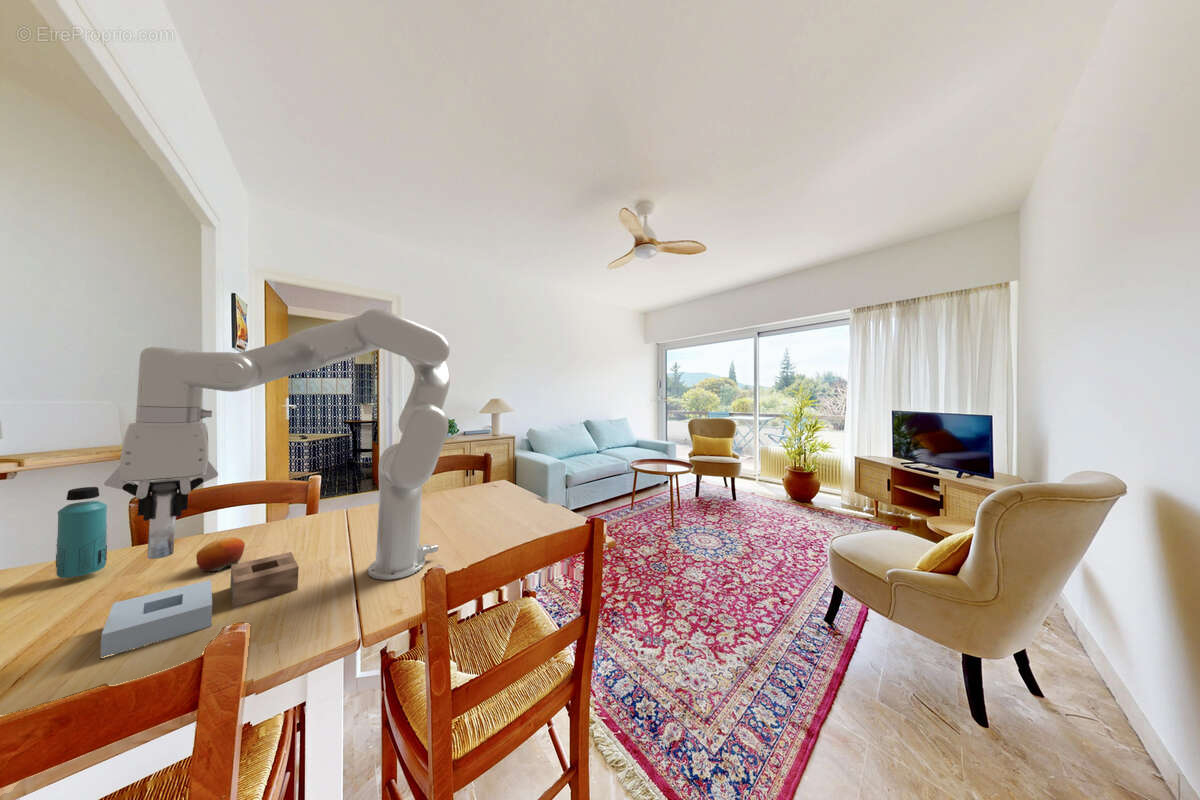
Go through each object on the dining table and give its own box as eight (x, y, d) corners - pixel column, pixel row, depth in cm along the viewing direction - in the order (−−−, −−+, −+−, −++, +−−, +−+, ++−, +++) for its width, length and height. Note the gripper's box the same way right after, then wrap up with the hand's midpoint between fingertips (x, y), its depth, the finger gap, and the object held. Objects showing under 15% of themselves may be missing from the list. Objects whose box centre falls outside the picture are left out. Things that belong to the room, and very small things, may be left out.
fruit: (219, 572, 82) (206, 540, 82) (196, 585, 83) (184, 553, 84) (259, 557, 89) (247, 527, 90) (237, 569, 91) (226, 540, 92)
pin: (177, 549, 68) (181, 478, 68) (176, 555, 65) (181, 482, 65) (144, 554, 65) (149, 480, 65) (142, 562, 62) (147, 485, 62)
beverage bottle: (103, 578, 79) (106, 488, 79) (49, 589, 74) (52, 493, 74) (109, 567, 84) (112, 482, 83) (58, 577, 79) (61, 487, 78)
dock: (210, 598, 74) (211, 579, 74) (211, 626, 66) (212, 604, 66) (112, 624, 65) (113, 602, 65) (100, 659, 57) (101, 634, 57)
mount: (290, 572, 86) (291, 551, 86) (297, 589, 79) (298, 566, 79) (230, 587, 78) (231, 565, 78) (232, 607, 71) (234, 582, 71)
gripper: (232, 415, 73) (226, 503, 73) (96, 414, 61) (89, 520, 61) (235, 418, 68) (228, 513, 68) (87, 417, 56) (79, 533, 56)
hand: (163, 515), depth 65 cm, fingers closed on pin, 3 cm apart
